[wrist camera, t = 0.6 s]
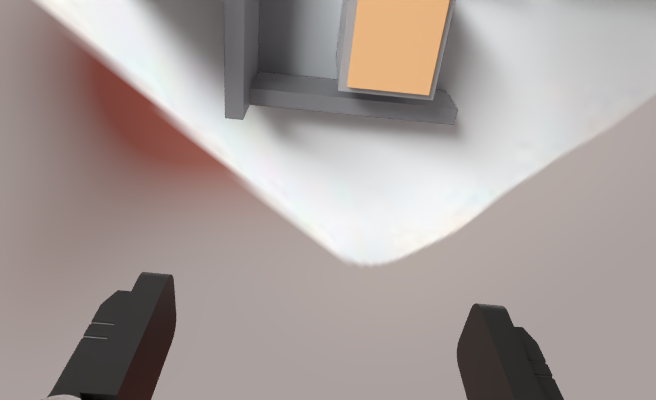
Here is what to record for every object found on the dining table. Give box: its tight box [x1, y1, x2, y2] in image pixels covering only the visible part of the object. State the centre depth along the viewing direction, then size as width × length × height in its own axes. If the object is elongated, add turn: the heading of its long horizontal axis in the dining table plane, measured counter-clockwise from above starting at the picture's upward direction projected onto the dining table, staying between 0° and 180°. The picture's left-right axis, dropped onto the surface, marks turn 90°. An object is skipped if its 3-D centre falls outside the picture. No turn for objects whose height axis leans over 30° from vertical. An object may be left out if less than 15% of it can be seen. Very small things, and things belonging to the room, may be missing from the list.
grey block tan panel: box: [336, 0, 455, 100], centre depth 26 cm, size 6×5×8 cm
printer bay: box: [224, 0, 458, 125], centre depth 26 cm, size 11×14×6 cm
